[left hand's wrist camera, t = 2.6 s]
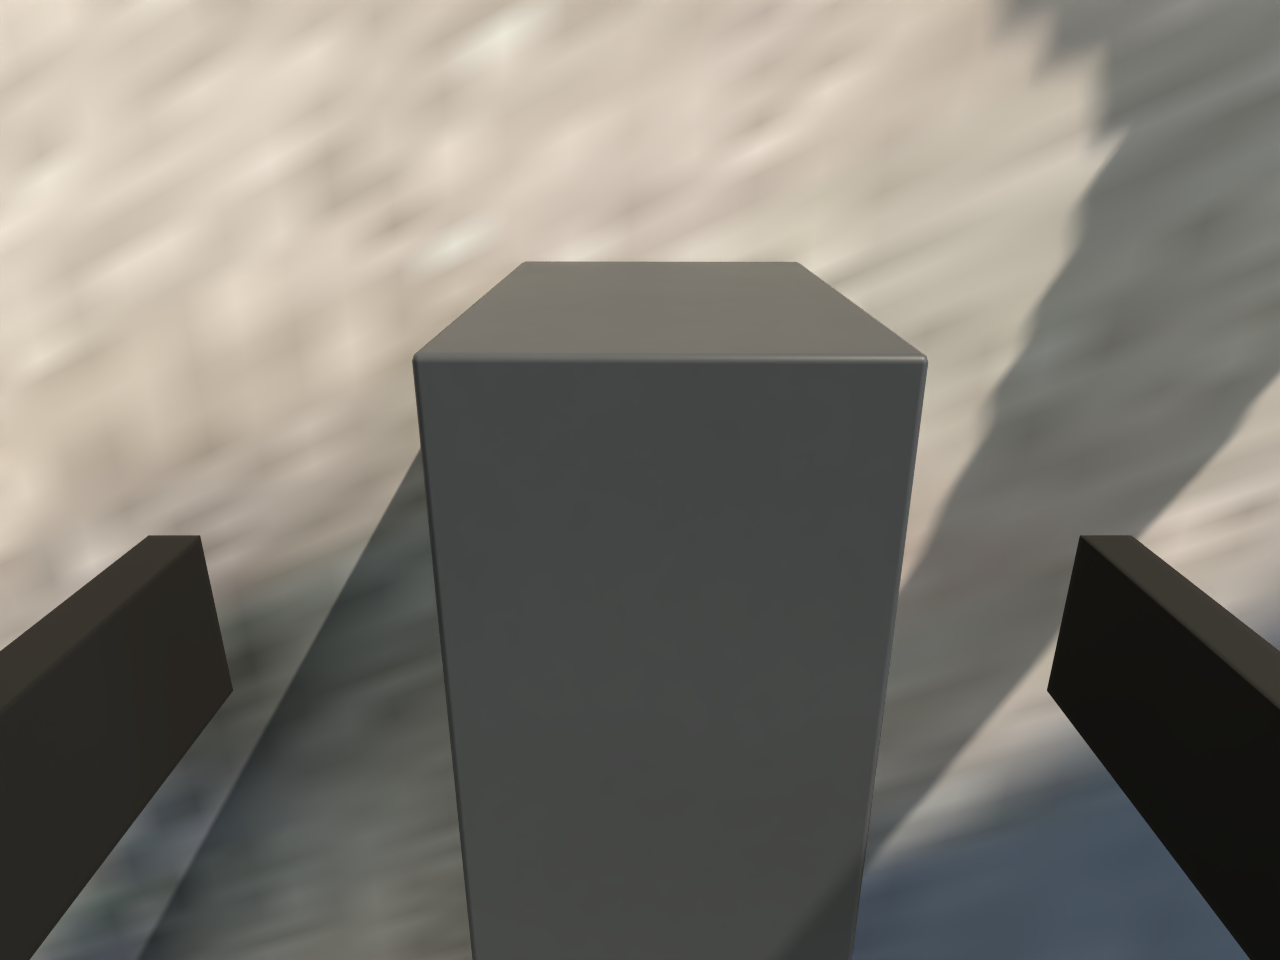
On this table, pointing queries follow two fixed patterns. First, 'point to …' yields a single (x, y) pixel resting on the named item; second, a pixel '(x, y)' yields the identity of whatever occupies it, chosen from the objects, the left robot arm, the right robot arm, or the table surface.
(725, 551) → the beam
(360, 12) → the table surface
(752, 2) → the table surface
